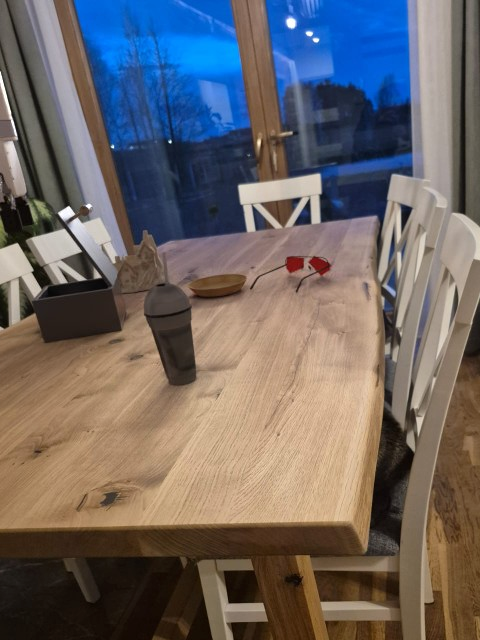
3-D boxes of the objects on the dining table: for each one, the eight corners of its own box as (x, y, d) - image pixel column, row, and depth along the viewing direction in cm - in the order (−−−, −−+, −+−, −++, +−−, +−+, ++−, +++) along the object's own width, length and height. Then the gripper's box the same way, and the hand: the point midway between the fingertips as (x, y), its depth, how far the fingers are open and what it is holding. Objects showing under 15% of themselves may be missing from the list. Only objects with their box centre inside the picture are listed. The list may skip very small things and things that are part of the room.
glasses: (333, 275, 145) (331, 255, 143) (297, 293, 133) (294, 271, 131) (288, 273, 153) (285, 254, 151) (249, 290, 141) (246, 269, 139)
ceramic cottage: (173, 274, 167) (158, 221, 160) (165, 290, 152) (149, 233, 145) (120, 284, 167) (103, 232, 160) (107, 301, 152) (88, 244, 146)
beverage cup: (156, 377, 95) (128, 254, 86) (200, 367, 97) (176, 246, 88) (163, 392, 89) (133, 262, 80) (209, 381, 91) (184, 253, 82)
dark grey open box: (44, 343, 119) (31, 301, 116) (56, 324, 132) (44, 285, 128) (122, 330, 122) (111, 288, 118) (126, 313, 134) (117, 275, 130)
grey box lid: (54, 215, 110) (77, 199, 110) (65, 207, 123) (87, 194, 122) (109, 287, 118) (131, 273, 117) (115, 274, 130) (135, 261, 130)
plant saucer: (212, 282, 153) (211, 273, 151) (259, 284, 146) (258, 273, 144) (177, 298, 141) (175, 288, 140) (226, 300, 134) (224, 289, 133)
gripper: (-15, 135, 114) (11, 225, 121) (-43, 134, 98) (-12, 237, 106) (25, 132, 115) (48, 221, 122) (3, 130, 100) (31, 232, 107)
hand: (20, 228), depth 114 cm, fingers open, 9 cm apart
